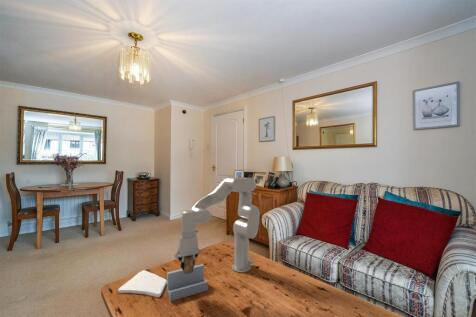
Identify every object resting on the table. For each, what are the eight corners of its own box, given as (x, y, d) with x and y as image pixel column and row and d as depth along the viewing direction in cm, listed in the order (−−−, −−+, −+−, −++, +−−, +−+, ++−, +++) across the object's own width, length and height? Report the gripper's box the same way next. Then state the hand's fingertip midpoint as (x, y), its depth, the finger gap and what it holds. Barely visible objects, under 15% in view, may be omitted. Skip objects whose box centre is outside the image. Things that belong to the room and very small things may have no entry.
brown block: (190, 268, 115) (190, 253, 116) (193, 272, 110) (193, 257, 110) (182, 269, 113) (182, 254, 113) (184, 274, 108) (185, 259, 108)
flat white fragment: (116, 296, 111) (158, 300, 106) (116, 289, 111) (158, 294, 106) (142, 273, 132) (178, 276, 127) (141, 268, 132) (178, 270, 127)
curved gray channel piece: (202, 281, 122) (202, 264, 123) (207, 290, 114) (208, 271, 114) (167, 290, 113) (167, 272, 113) (170, 301, 105) (170, 281, 105)
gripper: (201, 229, 120) (200, 261, 119) (171, 233, 112) (170, 268, 112) (205, 233, 113) (204, 267, 113) (174, 238, 105) (172, 274, 105)
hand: (187, 267), depth 112 cm, fingers closed on brown block, 4 cm apart
